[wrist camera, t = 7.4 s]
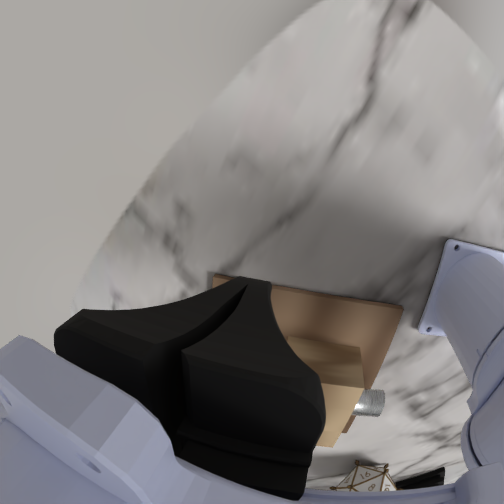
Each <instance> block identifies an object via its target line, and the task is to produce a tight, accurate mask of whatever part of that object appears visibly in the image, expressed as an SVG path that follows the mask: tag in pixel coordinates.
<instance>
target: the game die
mask: <svg viewBox="0 0 504 504" xmlns="http://www.w3.org/2000/svg"><path fill="white" fill-rule="evenodd" d="M355 464H356V465H357V466H356V467H355V468H354V469H353V471H352V472H351V473H350V474H349V475H348V476H347V477H346V478H345V479H344V480H343V481H342V482H341V483H340V484H339V485H338V486H337V487H333V486H332V487H330V489H331V490H336V491H352V492H377V491H398V490H403V489H402V488H399V489H397V488H396V486H395V484H394V482H393V481H392V479H391V477H390V475H389V474H388V471H389V470H388V469H386V468H387V467H388V464H386V465H385V466H384V468H382V467H372V466H364V465H359V461H357V460H356V461H355Z"/></svg>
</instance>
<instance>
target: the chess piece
mask: <svg viewBox="0 0 504 504" xmlns="http://www.w3.org/2000/svg"><path fill="white" fill-rule="evenodd" d="M444 476H445V468H444V467H443V468H440V469H437V470H435V471H432V472H429V473H426V474H423V475H420V476H417V477H413V478H410V479H407V480H403V481H400V482H396V488H397V489H399V488H402V489H403V490H410V489H420V488H428V487H435V486H441V485H444Z"/></svg>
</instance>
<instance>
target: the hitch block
mask: <svg viewBox="0 0 504 504" xmlns="http://www.w3.org/2000/svg"><path fill="white" fill-rule="evenodd" d="M232 279H234V277H228V276H223V275H218V274H215V275H214V276H213V287H212V288H215V287H217V286H219V285H221V284H223V283H225V282H227V281H229V280H232ZM271 303H272V308H273V312H274V315H275V318H276V321H277V324H278V326H279V328H280V330H281V332H282V334H283V336H284V338H285V340H286V341H287V343H288V344H289V345H290V347H291V348H292V350H293V351H294V352H295V354H296V355H297V356H298V357H299V358H300V359H301V360H302V361H303V362H304V363H305V364H307V365H308V366H309V367H310V368H311V369H312V370H314V371H315V372H316V373H317V374H318V375H319V378H320V381H321V385H322V389H323V394H324V399H325V407H326V423H325V427H324V430H323V432H322V434H321V436H320V438H319V440H318V442H317V444H316V446H324V447H333V446H334V444H335V443H336V441H337V439H338V437H339V436H340V434H341V433H347V431H348V429H349V428H350V426H351V424H352V422H353V421H354V419H355V417H356V415H351V414H352V412H353V410H354V408H355V406H356V405H357V403H358V401H359V399H360V397H361V395H362V393H363V390H364V389H370V388H371V386H372V384H373V382H374V380H375V378H376V376H377V374H378V372H379V369H380V367H381V365H382V363H383V360H384V358H385V356H386V354H387V351H388V349H389V346H390V344H391V342H392V339H393V337H394V334H395V332H396V329H397V326H398V324H399V321H400V318H401V316H402V313H403V310H404V309H403V307H402V306H400V305H393V304H386V303H379V302H373V301H366V300H360V299H353V298H347V297H341V296H335V295H329V294H323V293H317V292H311V291H305V290H299V289H294V288H288V287H282V286H277V285H272V291H271Z"/></svg>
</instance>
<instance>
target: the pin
mask: <svg viewBox="0 0 504 504" xmlns="http://www.w3.org/2000/svg"><path fill="white" fill-rule="evenodd" d="M384 403H385V393H384V391H383V390H374V389H364V390H363V393H362V395H361V397H360V399H359V401H358V403H357V405H356V406H355V408H354V410H353V412H352V414H351V415H358V416H372V417H378V416H380V414H381V413H382V410H383V408H384Z"/></svg>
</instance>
